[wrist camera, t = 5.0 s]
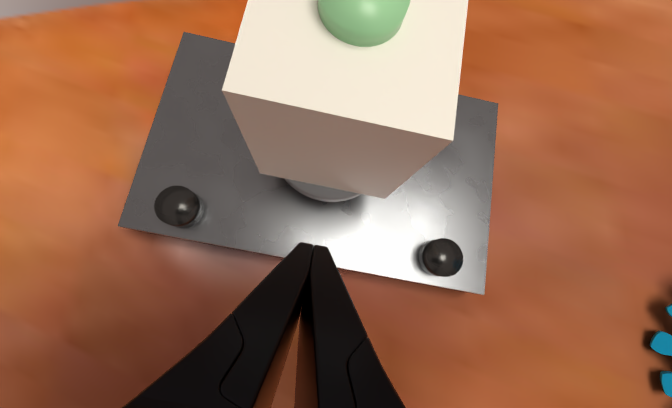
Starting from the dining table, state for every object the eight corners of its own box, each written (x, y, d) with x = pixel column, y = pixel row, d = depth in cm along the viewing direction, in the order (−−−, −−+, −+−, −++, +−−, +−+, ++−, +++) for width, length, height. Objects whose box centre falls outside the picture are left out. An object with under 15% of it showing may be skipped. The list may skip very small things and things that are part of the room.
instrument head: (378, 212, 16) (462, 150, 7) (260, 188, 15) (209, 95, 7) (403, 51, 18) (491, -140, 9) (299, 27, 17) (296, -194, 9)
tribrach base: (466, 292, 19) (497, 296, 16) (137, 230, 18) (103, 222, 15) (480, 118, 22) (510, 93, 19) (195, 54, 21) (175, 16, 18)
